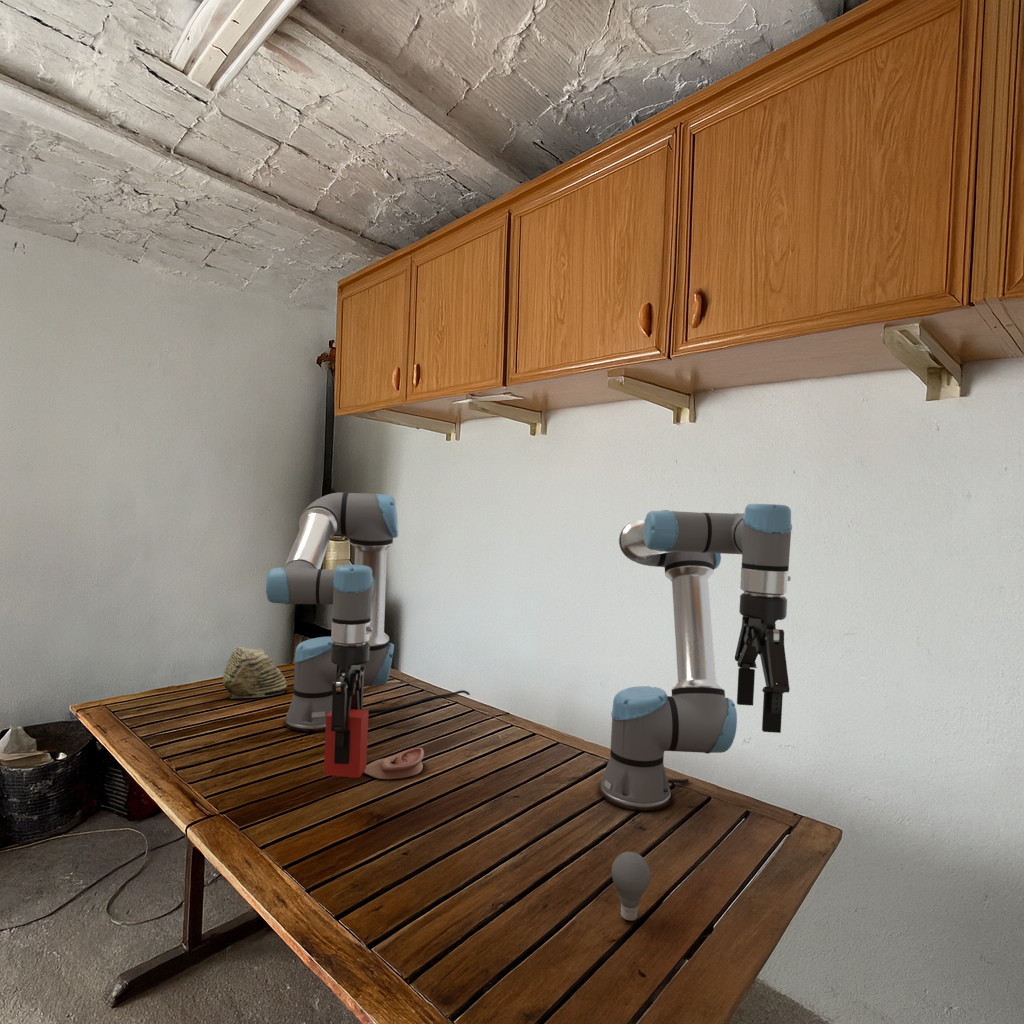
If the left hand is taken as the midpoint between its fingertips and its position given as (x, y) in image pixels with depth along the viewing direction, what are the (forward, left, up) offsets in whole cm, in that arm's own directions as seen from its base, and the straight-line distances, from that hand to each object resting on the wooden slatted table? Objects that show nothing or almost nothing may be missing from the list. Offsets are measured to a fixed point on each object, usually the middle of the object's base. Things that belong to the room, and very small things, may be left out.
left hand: (346, 757), depth 128 cm
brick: (0, 0, -3) cm, 3 cm away
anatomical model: (-20, -8, -11) cm, 24 cm away
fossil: (-26, -80, -11) cm, 85 cm away
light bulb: (-10, +59, -11) cm, 61 cm away
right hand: (-32, +70, +18) cm, 79 cm away
